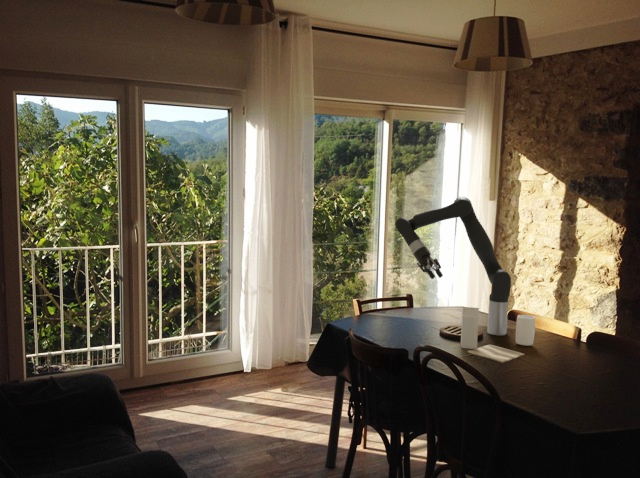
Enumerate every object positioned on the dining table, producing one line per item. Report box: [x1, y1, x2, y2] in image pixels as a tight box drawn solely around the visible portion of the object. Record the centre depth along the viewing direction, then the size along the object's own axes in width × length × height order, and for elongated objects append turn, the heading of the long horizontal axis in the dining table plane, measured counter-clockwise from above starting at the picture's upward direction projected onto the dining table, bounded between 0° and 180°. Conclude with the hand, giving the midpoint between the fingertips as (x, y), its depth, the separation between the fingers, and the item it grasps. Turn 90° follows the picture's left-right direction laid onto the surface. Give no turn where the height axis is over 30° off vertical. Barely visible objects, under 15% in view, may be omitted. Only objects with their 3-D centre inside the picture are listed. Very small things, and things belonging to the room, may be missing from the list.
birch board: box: [467, 344, 525, 364], centre depth 256 cm, size 18×18×1 cm
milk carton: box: [460, 306, 480, 350], centre depth 265 cm, size 7×7×19 cm
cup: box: [515, 314, 536, 346], centre depth 270 cm, size 8×8×14 cm
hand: (437, 277), depth 278 cm, fingers open, 5 cm apart
